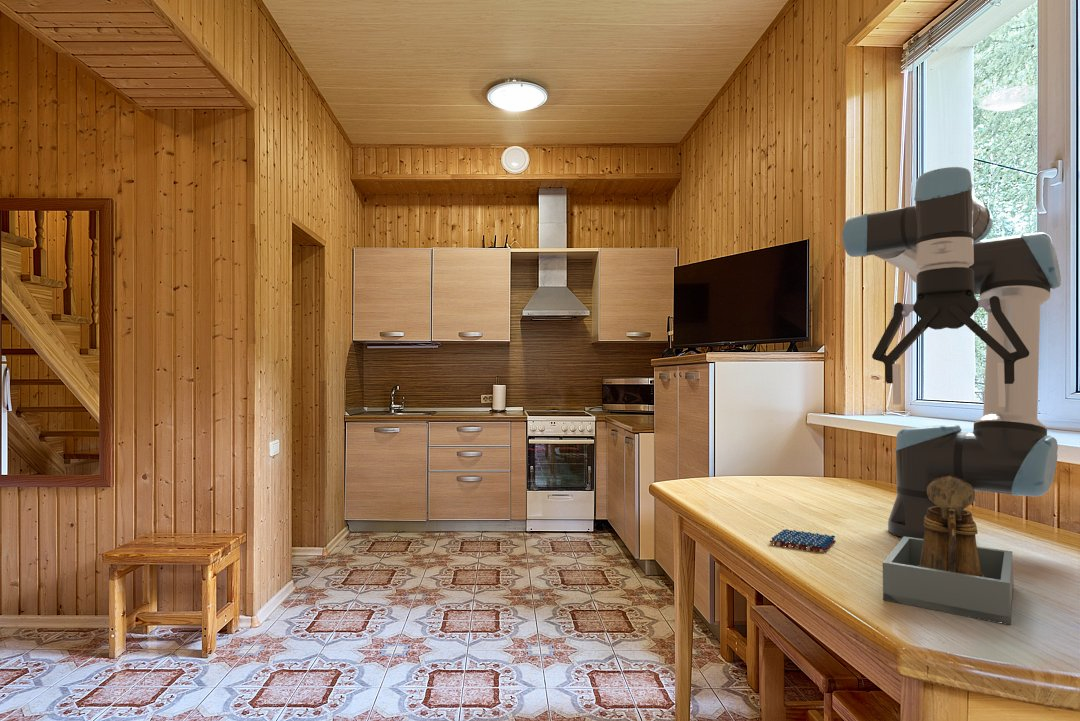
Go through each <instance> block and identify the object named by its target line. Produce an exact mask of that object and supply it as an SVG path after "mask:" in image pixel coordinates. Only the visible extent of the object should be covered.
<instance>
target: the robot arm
mask: <svg viewBox="0 0 1080 721" xmlns="http://www.w3.org/2000/svg"><path fill="white" fill-rule="evenodd" d="M914 188H915V189H914V196H913V201H914V205H910V206H906V207H900V208H894V209H889V210H884V211H883V210H882V211H878V212H871V213H864V214H862V215H858V216H855V217H854V216H853V217H851V218H848V219H847V220H846V221H845V223H844V224H843V228H842V233H841V234H842V235H841V237H842V245H843V248H844V250H845V253H846V254H847V255H848V256H850V257H851V258H852V257H853V258H857V257H858V258H859V257H863V258H865V257H868V256H875V257H877V258H879V259H881V260H883V261H884V262H885V263H888V264H890V265H892V266H894V267H896V268H898V269H899V270H902V271H903V272H905V273H906V274H908V276H909V277H910V279H911V280H912V281H913V282H914V283H915V284H916V300H915V303H912V304H911V303H902V302H895V303H894V305H893V313H892V317H891V319H890V321H889V323H888V325H887V327H886V328H885V330H884V332H883V334H882V336H881V339H880V340H879V342H878V344H877V345H876V348H875V349H874V351H873V353H872V355H871V358H872V359H873V360H876V361H878V362H881V363H882V364H884V372H885V373H884V378H885V379H884V380H885V383H886V384H892V403H893V404H892V405H902V383H901V382H902V380H901V379H902V377H901V375H902V374H901V371H902V370H901V363H896V362H897V361H898V359H900V357H901V356H902V355H903V354H904V353H905V352H906V351H907V350H908V349H909V348H910V347H911V346H912V345H913V343H915V341H917V339H918V338H919V337H920V336H921V335H922V334H924V332H925V331H927V329H928V328H929V329H933V330H943V329H946V328H947V329H951V330H958V329H959V328H962V327H963V326H966V327H967V328H968V329H970V331H971V332H973V333H974V334H975V335H976V336H977V337H978V338H979V339H980V340H981V341H983V343H984V344H985V345H986V347H985V349H986V350H985V367H984V368H985V371H984V387H983V388H984V389H983V392H984V394H983V411H982V414H983V415H982V416H981V417H979V418H978V419H976V420H975V421H974V422H973V430H972V432H968V431H966V432H965V431H962V428H961V426H960V425H959V424H945V425H943V424H942V425H929V426H917V427H906V428H901V429H900V430H899V431H898V432H897V433H896V445H895V446H896V448H894V451H895V462H896V463H895V466H896V468H895V469H896V498H895V500H894V503H893V506H892V509H891V512H890V514H889V517H888V521H887V524H888V525H887V529H888V532H889V533H890V534H892V535H895V536H897V537H900V538H903V537H904V536H905V537H912V538H919V539H924V530H925V526H924V518H925V516H926V514H927V509H928V507H933V506H937V505H935V504H934V503H933V502H932V501H931V500H930V499H929V498H928V496H927V492H926V489H927V485H928V484H929V482H931V481H932V480H933V479H935V478H938V477H940V476H943V475H947V474H952V475H955V476H958V477H960V478H962V479H964V480H965V481H967V482H968V483H970V484H971V485H972V486H973V487H974V491H975V492H987V493H996V494H1004V495H1012V496H1014V497H1019V496H1022V497H1035V498H1038V497H1041V496H1044V495H1046V494H1047V492H1049V491H1050V489H1051V486H1052V484H1053V482H1054V478H1055V474H1056V468H1057V464H1058V449H1059V448H1058V447H1059V446H1058V440H1057V439H1056V438H1055V437H1054V436H1051V435H1048V427H1047V426H1046V425H1045V424H1043V423H1042V422H1041V421H1040V420H1039V419H1038V408H1039V407H1038V405H1039V404H1038V403H1039V402H1038V401H1039V364H1040V362H1039V360H1040V333H1041V332H1040V330H1041V329H1040V327H1041V326H1040V325H1041V324H1040V323H1041V322H1040V321H1041V305H1042V304H1044V303H1045V302H1046V301H1048V300H1049V299H1050V297H1051V289H1053V290H1054V289H1056V288H1060V286H1061V284H1062V283H1061V282H1062V279H1061V278H1062V277H1061V272H1060V265H1059V261H1058V256H1057V252H1056V248H1055V245H1054V241H1053V240H1052V238H1051V235H1049V234H1047V233H1045V232H1035V233H1034V232H1033V233H1020V234H1017V235H1009V236H1002V237H996V238H988V239H987V236H988V235H989V233H990V232H991V230H992V227H993V224H994V217H993V214H992V212H991V210H990V209H989V207H988V206H987V204H986V203H984V202H983V201H982V200H980V199H977V198H976V197H975V195H974V194H973V188H974V183H973V178H972V172H971V171H970V170H969V169H968V168H966V167H962V166H960V167H959V166H951V167H950V166H949V167H941V168H938V169H937V168H936V169H934V170H930V171H927V172H924V173H923V174H921V175H920V176H919V177H918V178H917V179H916V181H915V187H914ZM985 238H986V239H985ZM976 295H979V299H977V298H976ZM979 308H983V309H984V311H985V312H986V313H987V319H986V320H987V323H986V324H987V327H986V330H985V329H984V328H983V327H982V326H981V325H980V324H978V323H977V322H976V321H975V320H974V319H973V318H972V316H973V315H974V314H975V312H976V311H977V310H978V309H979ZM911 312H914V313H915V314H916V315H917V316H918V317H919V320H918V321H917V322H916V323H915V324H914V325H913V327H912V328H911V329H910V330H909V331H908V333H907V334H906V335H905V336H904V337H903V338H902V339H901V340H900V341H899V342H898V344H896V346H895V347H894V348H893V349H892V350H891V351H890V352H889V353H888V354H886V353H887V351H888V349H889V347H890V345H891V344H892V343H893V342H892V341H893V340H894V338H895V337H896V335H897V332H898V331H899V329H900V327H901V326H902V322H903V321H904V318H907V317H908V316H909V315H910V313H911ZM963 510H966V508H964V509H963Z"/></svg>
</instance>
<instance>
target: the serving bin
mask: <svg viewBox="0 0 1080 721" xmlns="http://www.w3.org/2000/svg"><path fill="white" fill-rule="evenodd" d="M922 545H923V539H919V538H912V537H905V536H904V537H901V539H900V540H899V542H898V543H897V544H896V546H894V548H893V549H892V550H891V551H890V553H889V554H887V556H886V557H885V559H884V560H883V561H882V600H883V601H887V602H893V603H897V604H903V605H907V606H911V605H912V606H913V607H917V608H922V607H923V608H922V609H927V608H928V610H932V609H933V611H937V610H938V612H943V613H947V612H948V613H947V614H952V613H953V614H952V615H957V614H958V616H962V615H964V616H963V617H967V616H970V617H969V618H972V617H974V618H973V619H977V618H980V619H979V620H982V619H985V620H984V621H987V620H990V621H989V622H992V621H995V622H994V623H997V622H1002V623H1006V624H1005V625H1007V624H1010V625H1009V626H1011V624H1012V612H1011V611H1012V608H1013V596H1014V567H1013V566H1014V562H1013V559H1014V558H1013V551H1011V550H1007V549H1006V550H1005V549H999V548H998V549H997V548H991V547H989V548H988V547H985V546H984V547H982V546H977V550H978V556H979V562H980V568H981V573H983V575H984V577H980V576H974V575H967V574H961V573H955V572H949V571H943V570H937V569H931V568H924V567H918V566H919V565H920V559H921V552H922ZM912 606H911V607H912ZM1002 623H1001V624H1002Z"/></svg>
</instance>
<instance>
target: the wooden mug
mask: <svg viewBox="0 0 1080 721" xmlns="http://www.w3.org/2000/svg"><path fill="white" fill-rule="evenodd" d="M926 492H927V496H928V498H929V499H930V500H931V501H932V502H933V503H934V504H935V505H937V506H933V507H928V509H927V514H926V516H925V518H924V526H925V530H924V539H923V545H922V552H921V559H920V565H919V566H918V567H924V568H931V569H937V570H943V571H949V572H955V573H961V574H967V575H974V576H980V577H984V575H983V573H981V568H980V562H979V556H978V550H977V547H978V545H977V539H976V535H977V534H978V533H979V532H978V528H977V522H976V521H974V518H973V514H972V511H969V510H967V509H966V508H968V507H969V506H971V505H972V504H973V503H974V501H975V497H976V491H975V490H974V487H973V486H972V485H971V484H970V483H968V482H967V481H965V480H964V479H962V478H960V477H958V476H955V475H952V474H947V475H943V476H940V477H938V478H935V479H933V480H932V481H931V482H929V484H928V485H927V489H926ZM963 509H965V510H963Z"/></svg>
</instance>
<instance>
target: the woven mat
mask: <svg viewBox="0 0 1080 721" xmlns="http://www.w3.org/2000/svg"><path fill="white" fill-rule="evenodd" d="M835 539H836V536H835V535H830V534H819V533H818V532H816V533H815V532H810V531H808V532H807V531H804V530H801V531H800V530H798V531H797V530H795V529H793V530H792V529H790V530H789V529H787V528H785V529H781V531H780V532H778V533H776V534H775V535H774V536H772V537H771V540H769V543H771V545H773V544H775V546H776V547H782V548H784V547H785V546H787V545H788V546H787V547H789V548H788V549H792V546H795V547H794V548H799V547H801V548H799V549H800V550H801V549H804V551H807V550H808V551H807V552H811V551H812V553H817V550H818V551H819V553H820V554H824V553H825V552H827V551H828V550H829V548H831V547H832V546H833V544H835V543H837V542H836V540H835ZM789 542H790V543H789ZM830 545H831V546H830ZM806 547H807V548H806ZM810 550H811V551H810ZM824 551H825V552H824ZM823 552H824V553H823Z"/></svg>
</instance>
